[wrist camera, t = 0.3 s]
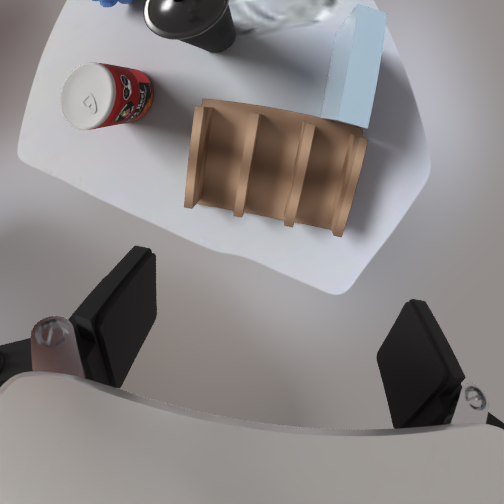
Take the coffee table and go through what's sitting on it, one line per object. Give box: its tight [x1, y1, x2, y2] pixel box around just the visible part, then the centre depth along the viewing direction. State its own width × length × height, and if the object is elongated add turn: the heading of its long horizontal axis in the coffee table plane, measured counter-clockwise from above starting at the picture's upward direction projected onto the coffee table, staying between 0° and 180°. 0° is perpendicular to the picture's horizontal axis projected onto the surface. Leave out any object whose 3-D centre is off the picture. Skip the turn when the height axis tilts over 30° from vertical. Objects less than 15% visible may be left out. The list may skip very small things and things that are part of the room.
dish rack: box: [184, 99, 368, 237], centre depth 34 cm, size 14×20×6 cm
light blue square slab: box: [320, 4, 387, 129], centre depth 25 cm, size 12×3×12 cm, turn 171°
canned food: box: [60, 62, 153, 130], centre depth 28 cm, size 8×8×11 cm
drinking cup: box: [143, 0, 235, 52], centre depth 20 cm, size 8×8×20 cm
